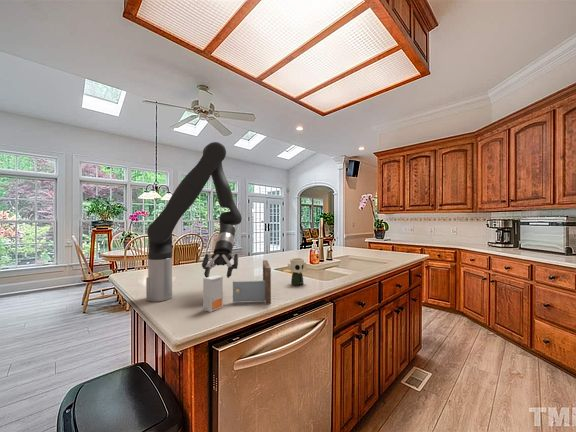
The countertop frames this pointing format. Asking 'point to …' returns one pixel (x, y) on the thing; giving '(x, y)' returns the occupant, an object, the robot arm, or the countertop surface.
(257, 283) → the door leaf
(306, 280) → the countertop surface
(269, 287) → the door frame
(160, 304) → the countertop surface
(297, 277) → the character mug
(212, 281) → the skincare box
